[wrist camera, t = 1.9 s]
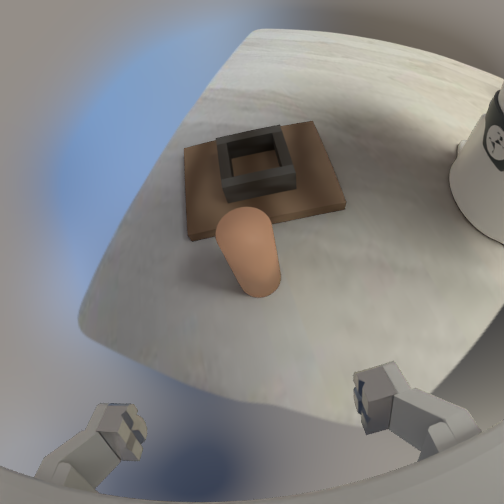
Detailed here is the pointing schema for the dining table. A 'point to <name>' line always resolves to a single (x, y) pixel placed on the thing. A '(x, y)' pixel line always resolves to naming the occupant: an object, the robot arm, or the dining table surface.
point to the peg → (250, 250)
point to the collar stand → (259, 177)
